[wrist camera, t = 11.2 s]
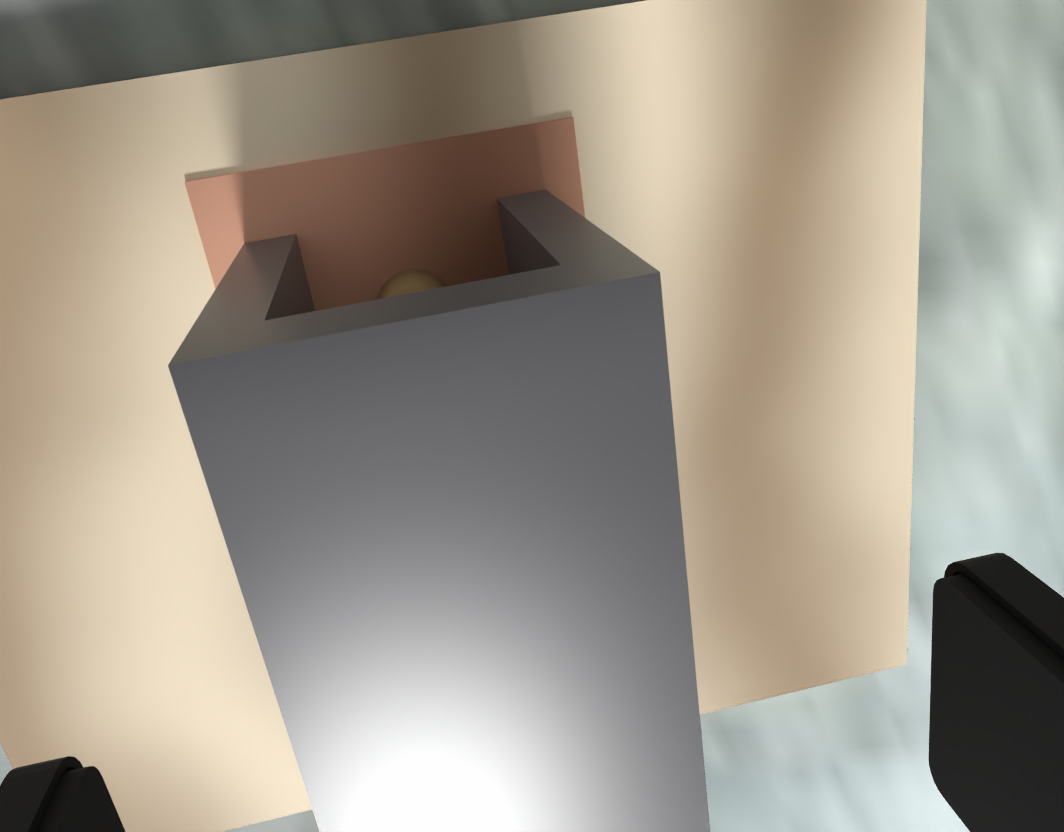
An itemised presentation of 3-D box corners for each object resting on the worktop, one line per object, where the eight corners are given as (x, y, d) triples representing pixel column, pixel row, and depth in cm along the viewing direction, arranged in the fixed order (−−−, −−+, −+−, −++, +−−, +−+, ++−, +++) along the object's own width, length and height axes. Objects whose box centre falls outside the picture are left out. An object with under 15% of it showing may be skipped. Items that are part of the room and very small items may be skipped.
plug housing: (545, 189, 14) (659, 271, 9) (607, 642, 18) (715, 902, 12) (244, 243, 14) (167, 364, 8) (369, 698, 17) (372, 994, 12)
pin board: (887, -36, 15) (1042, -63, 12) (877, 632, 21) (981, 748, 17) (-239, 136, 13) (-449, 165, 10) (80, 823, 19) (16, 996, 15)
